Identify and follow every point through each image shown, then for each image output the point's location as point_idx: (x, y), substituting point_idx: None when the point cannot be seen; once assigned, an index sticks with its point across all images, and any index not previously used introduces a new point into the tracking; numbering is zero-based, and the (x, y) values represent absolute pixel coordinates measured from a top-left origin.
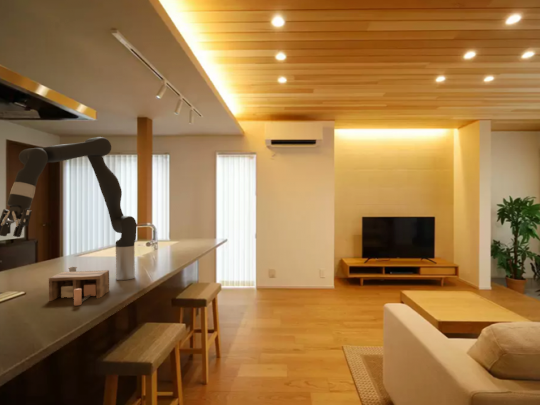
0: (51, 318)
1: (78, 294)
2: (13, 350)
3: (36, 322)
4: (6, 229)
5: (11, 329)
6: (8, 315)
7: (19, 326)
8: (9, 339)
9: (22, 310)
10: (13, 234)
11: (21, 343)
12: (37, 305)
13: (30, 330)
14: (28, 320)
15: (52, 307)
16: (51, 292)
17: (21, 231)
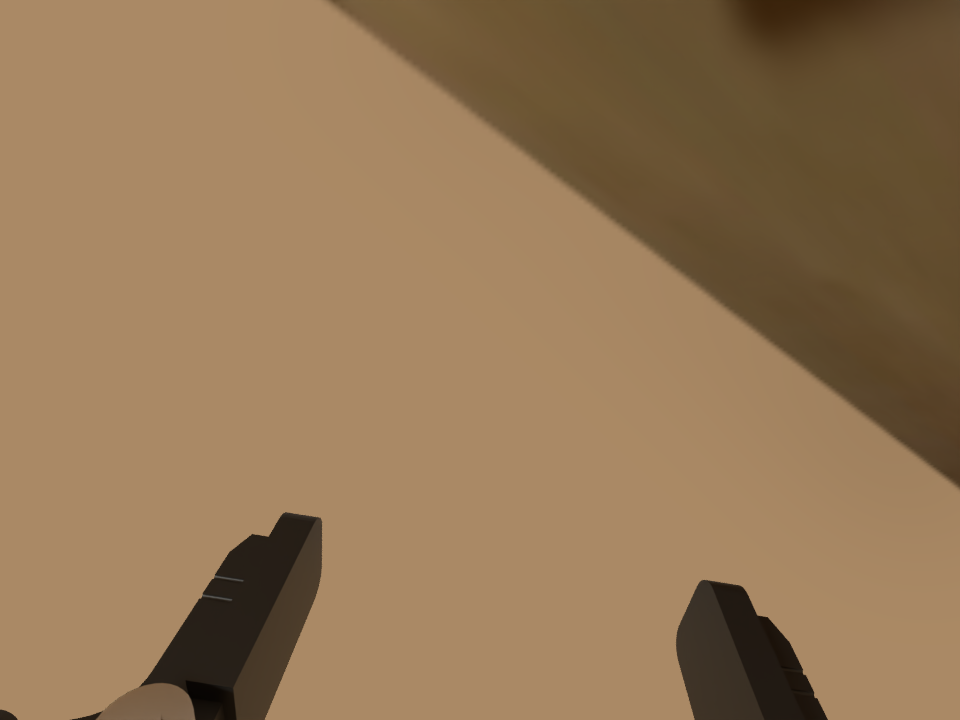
0: (947, 212)
1: None
2: (955, 457)
3: (886, 271)
4: (264, 648)
5: (813, 346)
6: (638, 219)
7: (827, 319)
8: (878, 408)
9: (646, 133)
10: (688, 670)
11: (953, 424)
12: (666, 11)
13: (916, 343)
14: (819, 257)
15: (829, 25)
16: None
17: (817, 705)
